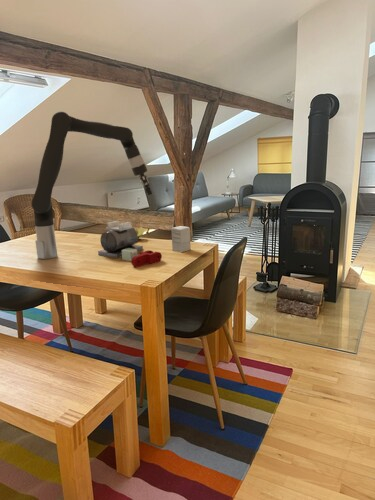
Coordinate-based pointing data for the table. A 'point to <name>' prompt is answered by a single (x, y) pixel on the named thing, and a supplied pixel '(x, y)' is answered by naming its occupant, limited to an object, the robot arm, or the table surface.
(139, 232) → the plastic component
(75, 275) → the table surface
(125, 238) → the motor
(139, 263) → the mechanical linkage
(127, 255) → the pale green block
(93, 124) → the robot arm
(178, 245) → the supplement box
